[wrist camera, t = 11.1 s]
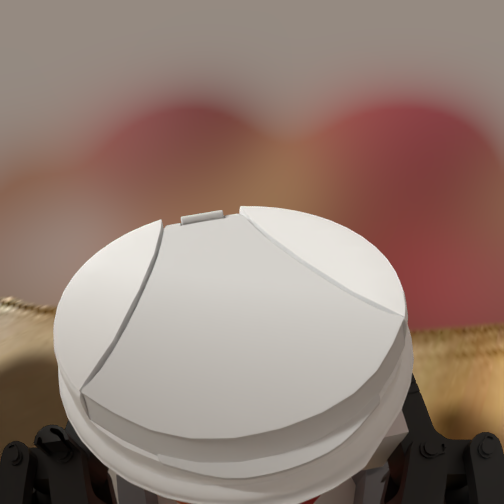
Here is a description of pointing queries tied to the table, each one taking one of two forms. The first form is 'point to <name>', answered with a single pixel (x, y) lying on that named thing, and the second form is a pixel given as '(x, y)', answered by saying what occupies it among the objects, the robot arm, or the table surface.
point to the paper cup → (235, 356)
